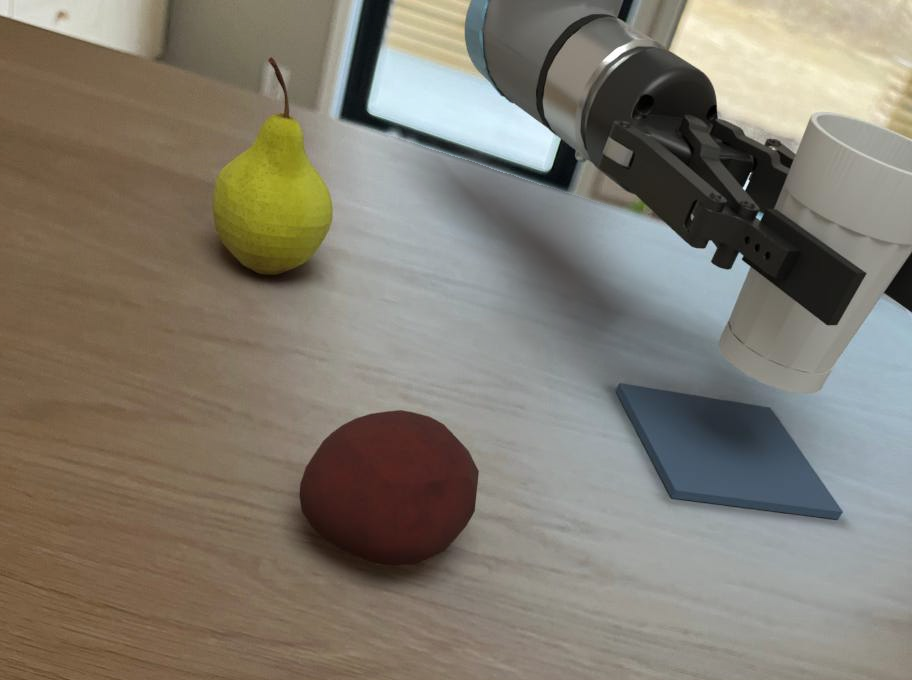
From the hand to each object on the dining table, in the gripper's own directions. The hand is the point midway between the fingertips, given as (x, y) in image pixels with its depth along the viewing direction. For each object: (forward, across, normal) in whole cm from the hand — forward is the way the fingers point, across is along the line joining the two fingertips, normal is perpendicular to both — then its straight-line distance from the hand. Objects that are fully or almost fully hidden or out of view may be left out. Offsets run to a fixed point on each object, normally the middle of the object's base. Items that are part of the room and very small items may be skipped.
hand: (898, 299), depth 52 cm
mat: (-5, 0, -13) cm, 14 cm away
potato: (-1, +26, -13) cm, 29 cm away
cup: (-5, 0, -7) cm, 8 cm away
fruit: (-27, +20, -13) cm, 37 cm away
